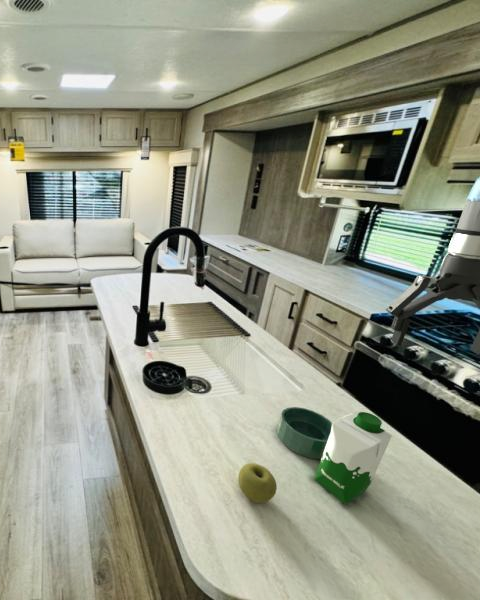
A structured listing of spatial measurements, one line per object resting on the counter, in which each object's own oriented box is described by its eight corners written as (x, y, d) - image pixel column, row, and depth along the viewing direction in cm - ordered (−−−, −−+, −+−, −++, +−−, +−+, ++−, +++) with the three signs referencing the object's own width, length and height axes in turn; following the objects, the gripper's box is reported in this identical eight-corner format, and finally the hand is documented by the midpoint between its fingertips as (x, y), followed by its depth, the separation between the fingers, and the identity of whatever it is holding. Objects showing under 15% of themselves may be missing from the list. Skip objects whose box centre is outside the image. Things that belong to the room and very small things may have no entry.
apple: (244, 510, 70) (250, 487, 67) (230, 478, 78) (235, 457, 75) (279, 511, 70) (286, 489, 67) (261, 479, 77) (267, 458, 74)
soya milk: (370, 494, 73) (401, 428, 65) (347, 510, 70) (376, 442, 62) (330, 465, 80) (353, 403, 73) (307, 478, 77) (329, 414, 70)
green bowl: (324, 431, 91) (330, 413, 89) (337, 466, 80) (345, 447, 77) (273, 419, 96) (278, 402, 93) (280, 451, 85) (285, 433, 82)
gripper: (403, 256, 64) (372, 346, 71) (587, 263, 55) (529, 366, 62) (385, 248, 70) (359, 332, 78) (548, 254, 61) (500, 348, 69)
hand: (434, 347), depth 70 cm, fingers open, 13 cm apart
